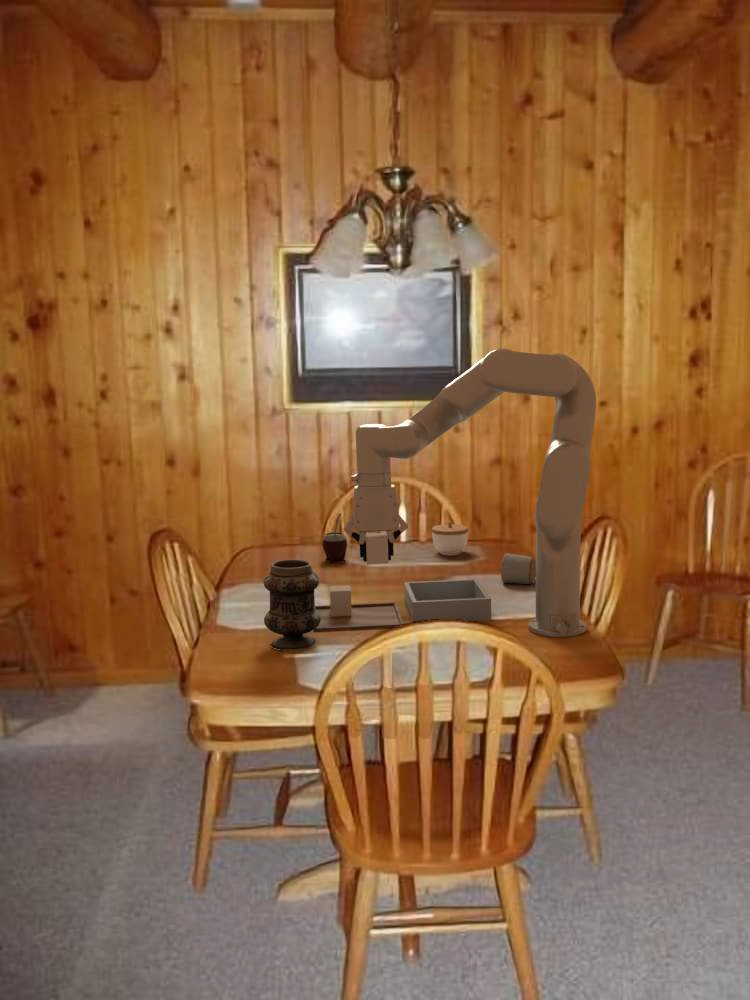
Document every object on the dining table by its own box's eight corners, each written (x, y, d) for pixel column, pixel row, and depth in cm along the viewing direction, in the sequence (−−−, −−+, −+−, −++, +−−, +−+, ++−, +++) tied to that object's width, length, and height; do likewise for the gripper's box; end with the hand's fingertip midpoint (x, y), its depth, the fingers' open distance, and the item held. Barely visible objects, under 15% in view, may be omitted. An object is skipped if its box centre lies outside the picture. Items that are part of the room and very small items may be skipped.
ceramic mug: (531, 587, 250) (532, 558, 249) (500, 585, 253) (500, 556, 252) (539, 578, 260) (539, 550, 259) (509, 576, 263) (509, 548, 261)
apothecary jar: (333, 643, 210) (330, 561, 207) (292, 658, 201) (289, 573, 198) (294, 632, 218) (291, 554, 215) (253, 646, 209) (249, 564, 206)
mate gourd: (330, 557, 289) (328, 507, 286) (354, 559, 286) (352, 509, 283) (318, 563, 282) (316, 512, 280) (342, 565, 279) (340, 513, 276)
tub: (491, 619, 223) (491, 598, 223) (413, 623, 222) (412, 602, 221) (477, 598, 241) (477, 579, 240) (404, 602, 240) (404, 582, 239)
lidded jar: (428, 550, 295) (428, 519, 293) (462, 548, 296) (462, 517, 295) (437, 558, 284) (436, 526, 283) (472, 556, 286) (472, 524, 284)
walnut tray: (403, 629, 218) (403, 624, 218) (314, 633, 217) (314, 628, 216) (396, 607, 236) (395, 602, 236) (313, 610, 234) (312, 606, 234)
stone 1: (351, 615, 228) (350, 590, 227) (331, 616, 227) (330, 591, 226) (350, 609, 232) (349, 585, 231) (330, 610, 232) (329, 586, 231)
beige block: (388, 563, 219) (387, 537, 218) (367, 564, 218) (366, 538, 217) (386, 558, 223) (385, 532, 222) (365, 559, 223) (364, 533, 222)
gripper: (336, 484, 213) (340, 565, 216) (414, 480, 215) (416, 561, 218) (335, 479, 221) (338, 557, 224) (410, 475, 222) (412, 554, 225)
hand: (376, 558), depth 221 cm, fingers closed on beige block, 4 cm apart
